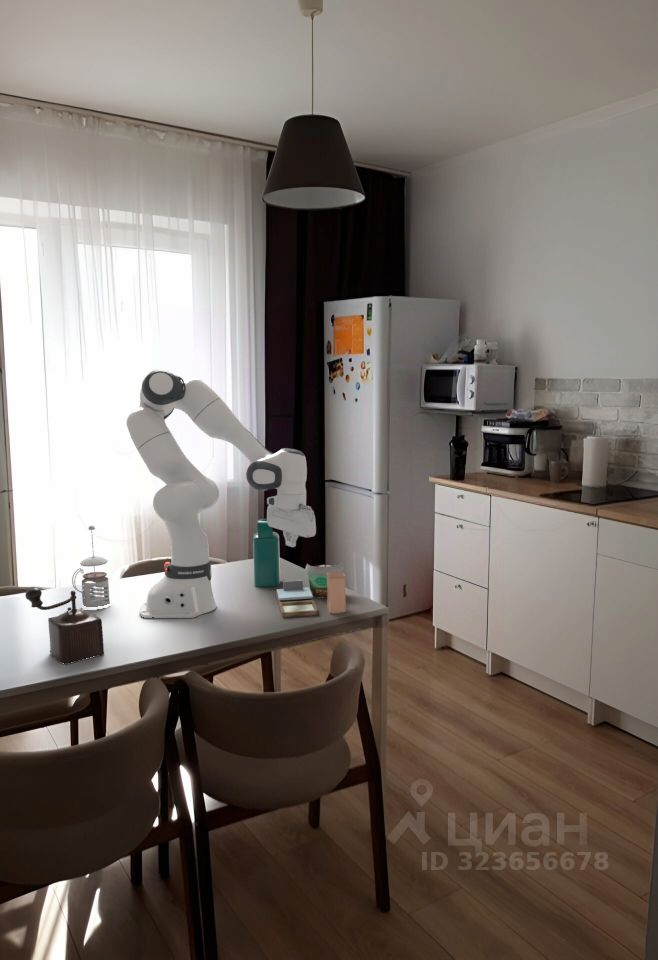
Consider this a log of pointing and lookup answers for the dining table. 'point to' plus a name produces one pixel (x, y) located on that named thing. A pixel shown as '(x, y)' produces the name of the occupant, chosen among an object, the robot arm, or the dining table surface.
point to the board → (297, 607)
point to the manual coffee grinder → (71, 630)
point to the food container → (320, 578)
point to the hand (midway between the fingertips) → (290, 546)
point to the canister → (336, 592)
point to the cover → (294, 590)
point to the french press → (94, 577)
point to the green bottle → (266, 556)
